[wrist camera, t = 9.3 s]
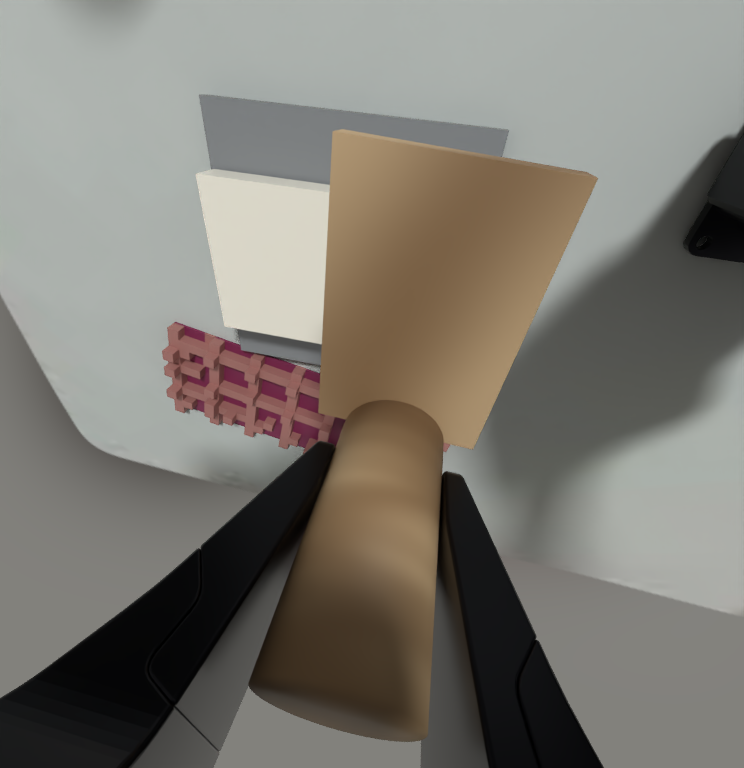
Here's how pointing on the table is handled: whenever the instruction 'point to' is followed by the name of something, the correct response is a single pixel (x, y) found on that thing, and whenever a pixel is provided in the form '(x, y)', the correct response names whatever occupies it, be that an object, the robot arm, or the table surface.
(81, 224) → the table surface
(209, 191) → the tile
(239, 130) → the mat
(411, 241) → the turner
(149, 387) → the table surface
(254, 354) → the red lattice rack
